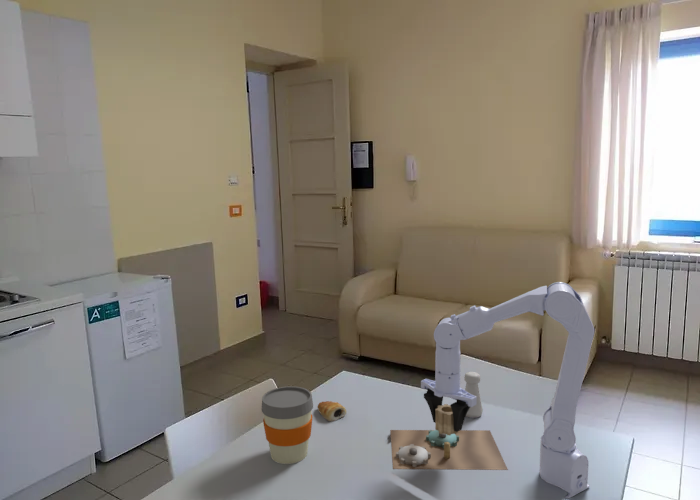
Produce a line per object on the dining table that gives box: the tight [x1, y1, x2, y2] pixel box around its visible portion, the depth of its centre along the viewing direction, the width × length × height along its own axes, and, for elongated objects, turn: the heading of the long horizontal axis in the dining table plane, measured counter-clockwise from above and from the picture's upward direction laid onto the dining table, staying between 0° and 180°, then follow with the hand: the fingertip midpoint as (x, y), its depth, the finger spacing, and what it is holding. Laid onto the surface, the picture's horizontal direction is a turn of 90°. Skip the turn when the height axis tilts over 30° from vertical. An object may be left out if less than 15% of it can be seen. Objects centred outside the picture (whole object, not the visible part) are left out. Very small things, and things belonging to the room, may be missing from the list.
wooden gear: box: [434, 403, 458, 435], centre depth 120 cm, size 6×6×5 cm
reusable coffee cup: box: [261, 385, 314, 465], centre depth 126 cm, size 13×13×15 cm
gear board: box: [389, 429, 509, 471], centre depth 125 cm, size 26×18×5 cm
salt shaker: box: [463, 371, 484, 419], centre depth 143 cm, size 6×6×13 cm
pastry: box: [317, 400, 347, 422], centre depth 148 cm, size 9×7×4 cm
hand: (447, 425), depth 120 cm, fingers closed on wooden gear, 5 cm apart
